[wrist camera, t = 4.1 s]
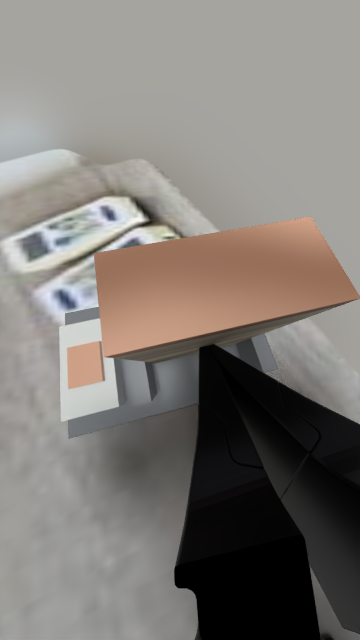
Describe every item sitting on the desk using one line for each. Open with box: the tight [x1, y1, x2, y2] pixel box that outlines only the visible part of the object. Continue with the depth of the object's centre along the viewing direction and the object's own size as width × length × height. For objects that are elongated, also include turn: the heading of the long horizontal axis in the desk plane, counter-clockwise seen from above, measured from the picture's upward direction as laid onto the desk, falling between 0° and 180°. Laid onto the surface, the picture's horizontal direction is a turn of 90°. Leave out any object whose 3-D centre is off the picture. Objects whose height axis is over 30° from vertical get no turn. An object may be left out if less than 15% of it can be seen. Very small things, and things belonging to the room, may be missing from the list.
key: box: [94, 217, 360, 363], centre depth 9 cm, size 3×7×10 cm, turn 103°
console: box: [59, 307, 278, 438], centre depth 12 cm, size 10×16×5 cm, turn 103°
